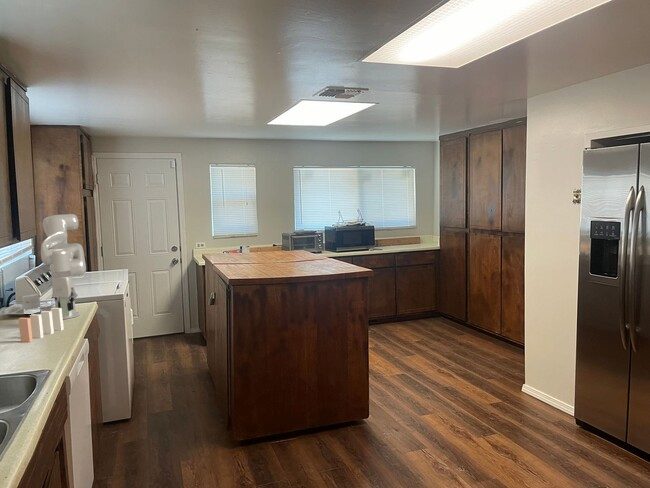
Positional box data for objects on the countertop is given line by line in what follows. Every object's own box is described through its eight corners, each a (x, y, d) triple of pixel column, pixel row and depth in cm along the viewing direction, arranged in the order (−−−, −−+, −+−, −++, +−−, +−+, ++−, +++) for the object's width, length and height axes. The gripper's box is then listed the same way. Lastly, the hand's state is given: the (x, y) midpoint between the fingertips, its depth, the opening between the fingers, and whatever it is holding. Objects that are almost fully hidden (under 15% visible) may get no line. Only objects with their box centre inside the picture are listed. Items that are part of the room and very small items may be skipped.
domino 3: (45, 332, 236) (43, 310, 235) (53, 333, 235) (51, 311, 234) (42, 333, 235) (40, 311, 234) (51, 334, 233) (48, 312, 232)
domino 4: (55, 329, 242) (53, 307, 241) (63, 329, 241) (61, 308, 240) (52, 330, 241) (50, 308, 239) (61, 330, 239) (59, 308, 238)
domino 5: (63, 314, 247) (61, 293, 246) (71, 315, 246) (69, 293, 245) (61, 315, 246) (59, 294, 244) (69, 315, 244) (67, 294, 243)
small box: (38, 311, 283) (36, 293, 282) (41, 312, 279) (39, 294, 278) (22, 314, 277) (20, 296, 276) (25, 315, 273) (23, 297, 272)
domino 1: (23, 340, 224) (21, 317, 223) (32, 341, 223) (30, 318, 222) (21, 341, 223) (18, 318, 222) (29, 342, 222) (27, 318, 220)
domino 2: (34, 336, 230) (32, 314, 229) (43, 337, 229) (41, 314, 228) (32, 337, 229) (29, 315, 228) (40, 338, 228) (38, 315, 226)
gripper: (42, 275, 242) (46, 311, 244) (71, 275, 238) (74, 312, 240) (54, 273, 249) (58, 308, 251) (82, 273, 245) (85, 308, 247)
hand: (66, 309), depth 246 cm, fingers closed on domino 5, 4 cm apart
